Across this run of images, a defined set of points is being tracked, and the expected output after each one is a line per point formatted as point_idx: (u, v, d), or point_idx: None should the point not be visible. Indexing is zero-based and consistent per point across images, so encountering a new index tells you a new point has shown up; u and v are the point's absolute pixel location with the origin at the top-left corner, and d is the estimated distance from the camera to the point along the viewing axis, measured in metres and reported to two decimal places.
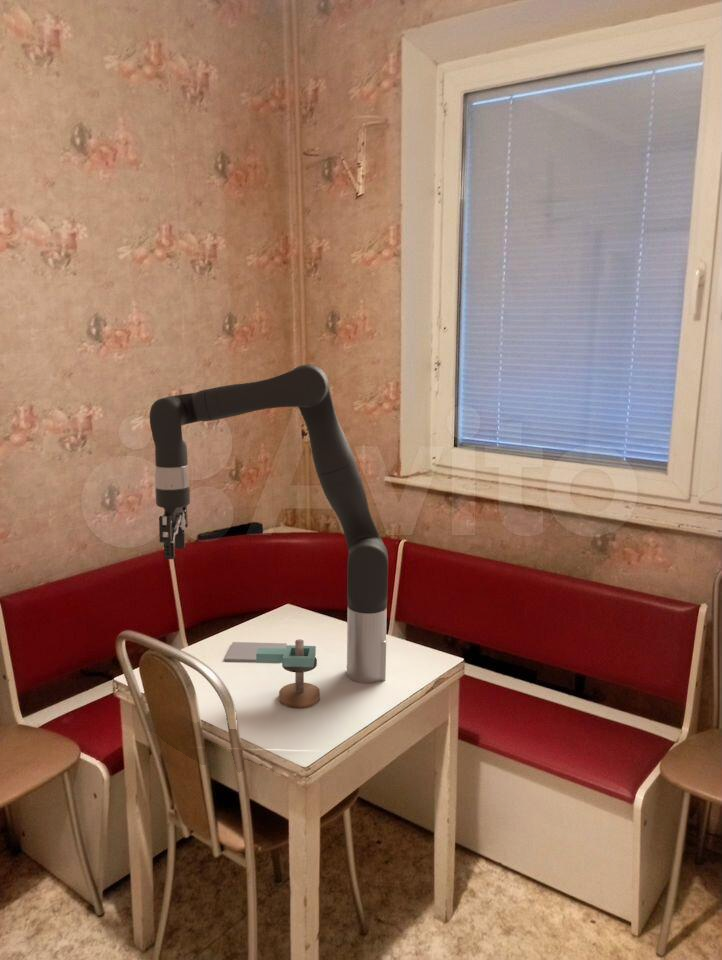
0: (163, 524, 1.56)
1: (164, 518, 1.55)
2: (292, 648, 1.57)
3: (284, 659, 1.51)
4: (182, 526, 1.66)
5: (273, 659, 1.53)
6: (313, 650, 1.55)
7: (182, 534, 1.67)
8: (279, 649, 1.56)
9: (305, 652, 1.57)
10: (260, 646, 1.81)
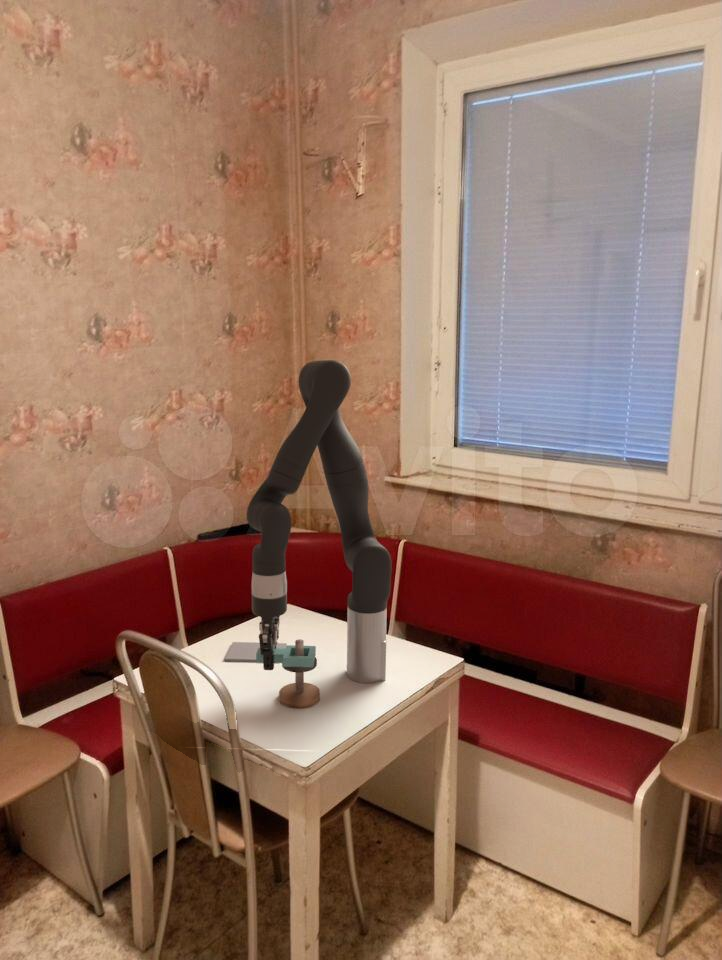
0: (264, 642, 1.48)
1: (264, 638, 1.47)
2: (292, 648, 1.57)
3: (284, 659, 1.51)
4: None
5: None
6: (313, 650, 1.55)
7: (274, 648, 1.56)
8: (279, 649, 1.56)
9: (305, 652, 1.57)
10: None
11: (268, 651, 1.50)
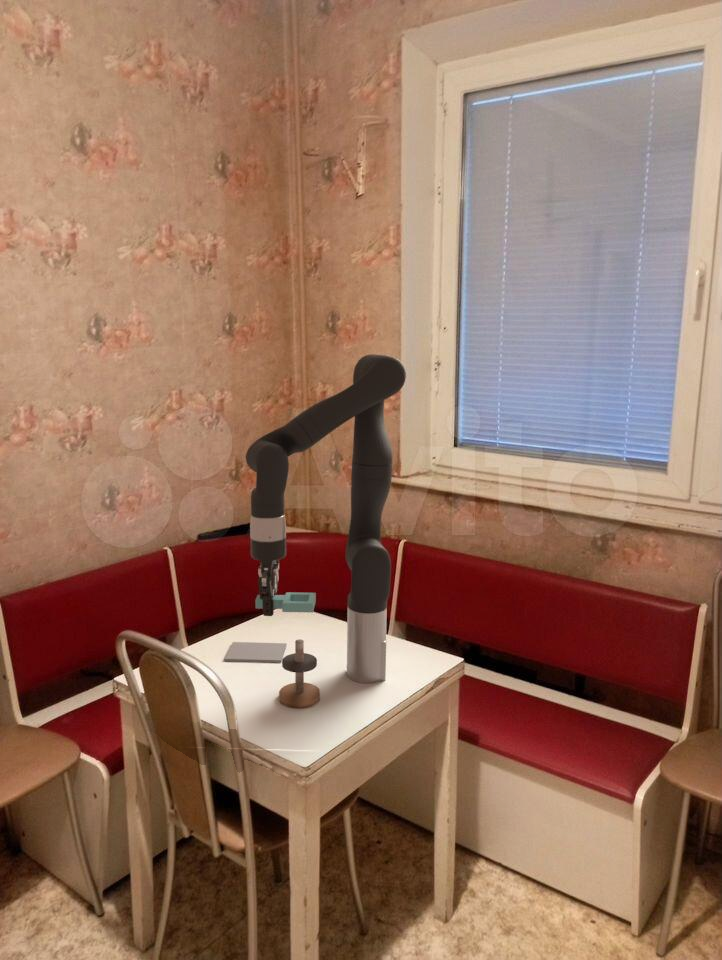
0: (263, 586, 1.46)
1: (263, 581, 1.45)
2: (292, 595, 1.54)
3: (284, 604, 1.49)
4: None
5: None
6: (313, 596, 1.53)
7: (273, 594, 1.54)
8: (279, 595, 1.53)
9: (305, 598, 1.54)
10: (260, 646, 1.81)
11: (267, 595, 1.48)
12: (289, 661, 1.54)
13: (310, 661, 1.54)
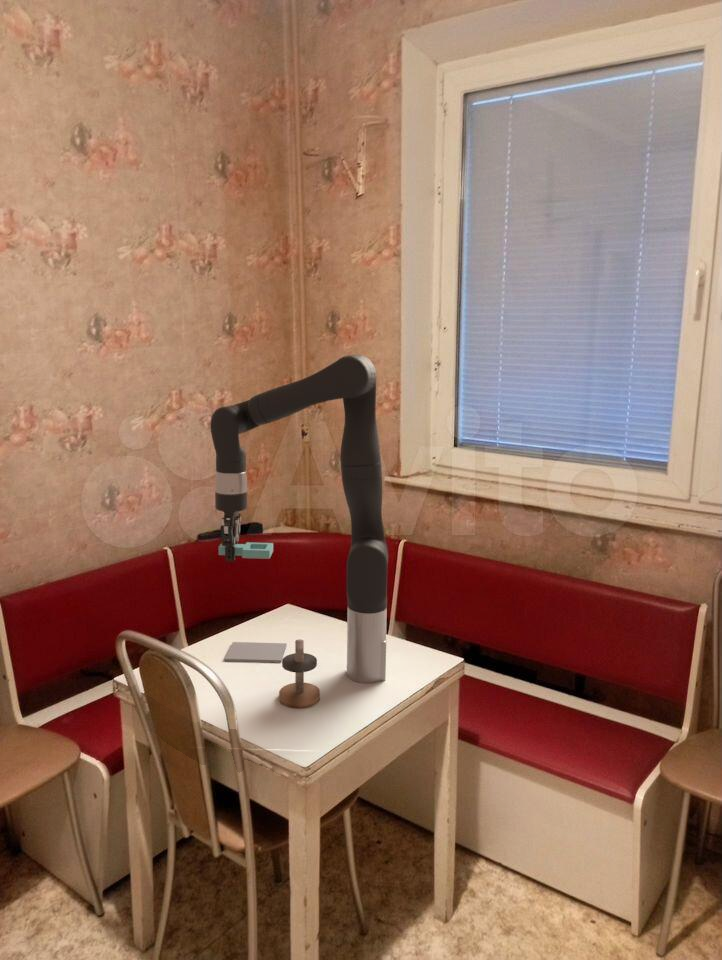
0: (225, 533, 1.64)
1: (225, 529, 1.63)
2: (252, 544, 1.73)
3: (243, 551, 1.68)
4: None
5: None
6: (270, 545, 1.72)
7: (235, 543, 1.72)
8: (240, 544, 1.72)
9: (263, 548, 1.73)
10: (260, 646, 1.81)
11: (229, 542, 1.66)
12: (289, 661, 1.54)
13: (310, 661, 1.54)
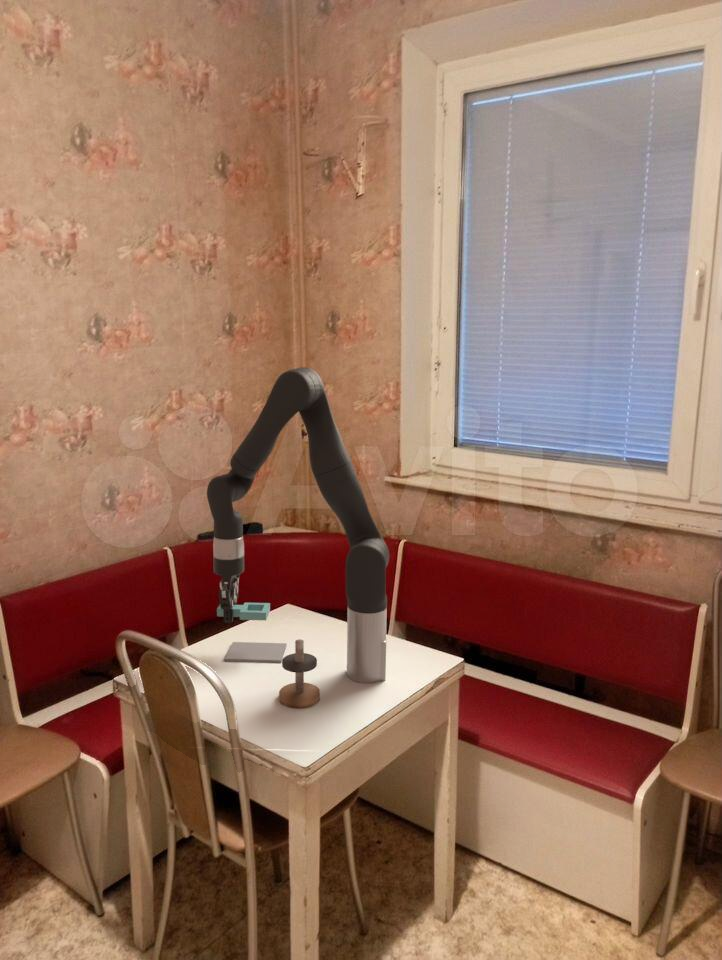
0: (223, 597, 1.70)
1: (223, 593, 1.69)
2: (249, 605, 1.79)
3: (241, 613, 1.74)
4: (234, 594, 1.78)
5: None
6: (267, 606, 1.77)
7: (233, 604, 1.78)
8: (238, 605, 1.78)
9: (260, 608, 1.79)
10: (260, 646, 1.81)
11: (227, 605, 1.72)
12: (289, 661, 1.54)
13: (310, 661, 1.54)
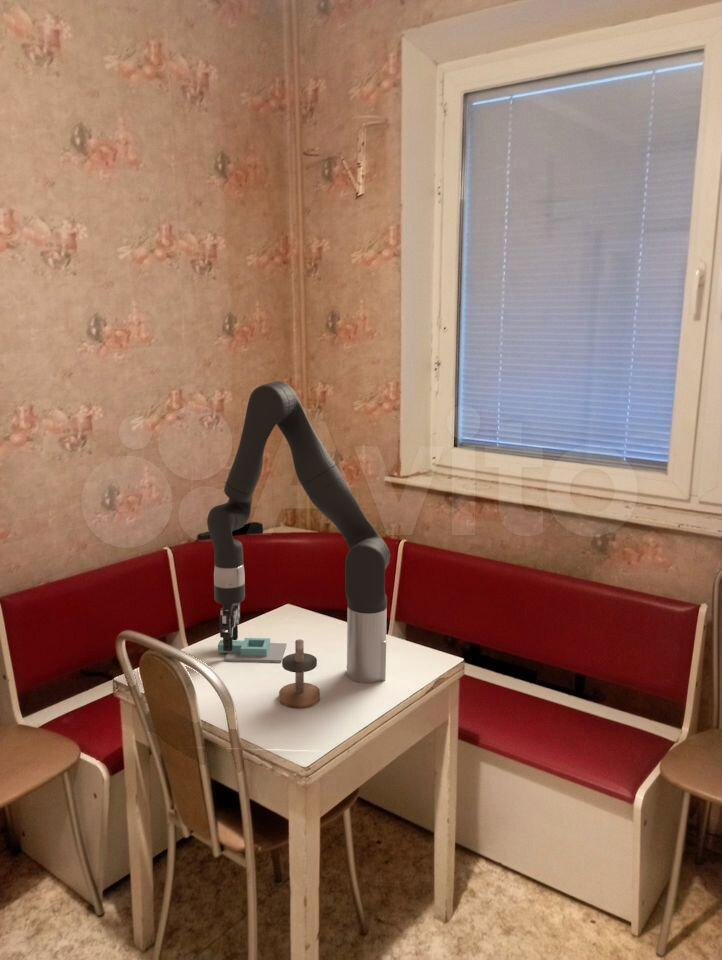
0: (223, 623, 1.71)
1: (224, 618, 1.70)
2: (249, 640, 1.81)
3: (242, 649, 1.75)
4: (236, 619, 1.80)
5: (232, 650, 1.77)
6: (267, 642, 1.79)
7: (235, 627, 1.81)
8: (238, 641, 1.80)
9: (261, 643, 1.81)
10: None
11: (226, 634, 1.72)
12: (289, 661, 1.54)
13: (310, 661, 1.54)
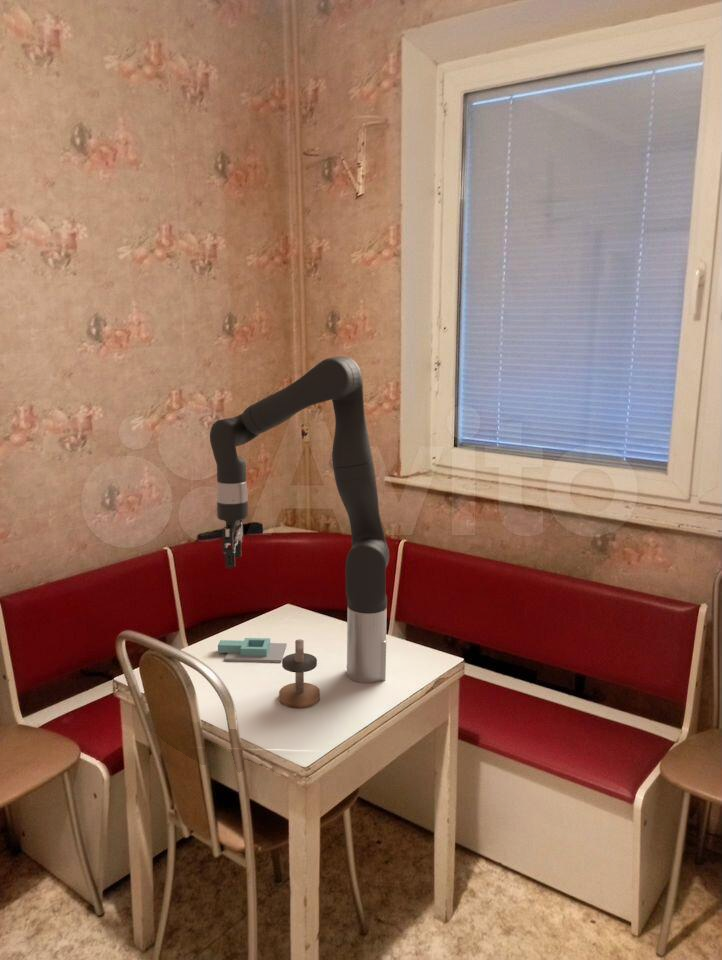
0: (226, 536, 1.68)
1: (227, 530, 1.68)
2: (249, 640, 1.81)
3: (242, 649, 1.75)
4: (239, 537, 1.78)
5: (232, 650, 1.77)
6: (267, 642, 1.79)
7: (239, 544, 1.80)
8: (238, 641, 1.80)
9: (261, 643, 1.81)
10: None
11: (229, 549, 1.69)
12: (289, 661, 1.54)
13: (310, 661, 1.54)
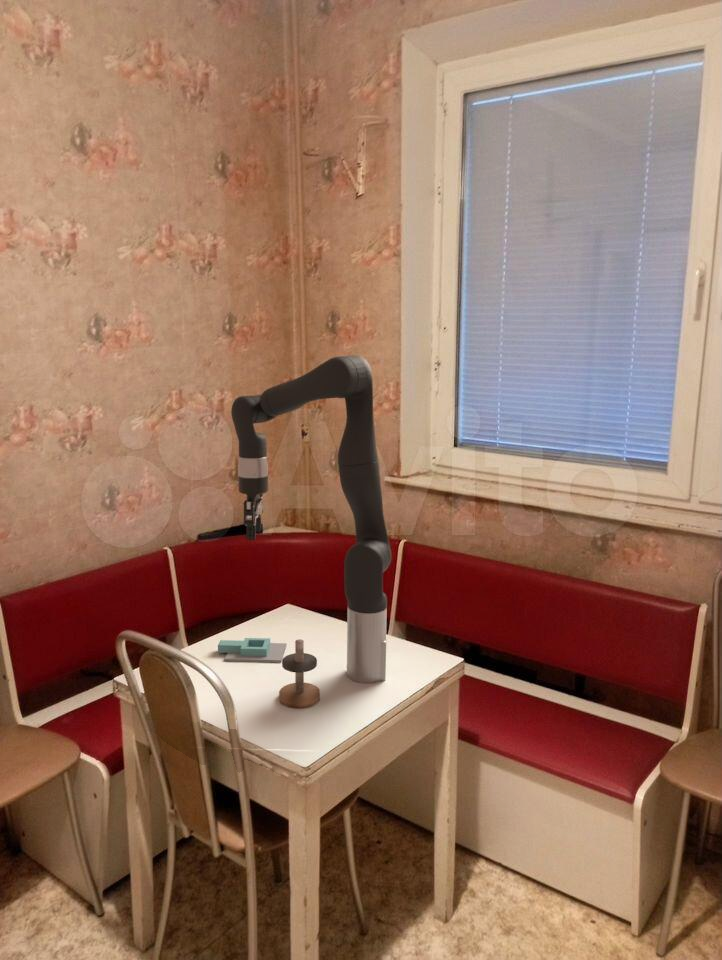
0: (247, 508, 1.75)
1: (248, 503, 1.75)
2: (249, 640, 1.81)
3: (242, 649, 1.75)
4: (259, 511, 1.85)
5: (232, 650, 1.77)
6: (267, 642, 1.79)
7: (259, 518, 1.87)
8: (238, 641, 1.80)
9: (261, 643, 1.81)
10: None
11: (250, 521, 1.76)
12: (289, 661, 1.54)
13: (310, 661, 1.54)
